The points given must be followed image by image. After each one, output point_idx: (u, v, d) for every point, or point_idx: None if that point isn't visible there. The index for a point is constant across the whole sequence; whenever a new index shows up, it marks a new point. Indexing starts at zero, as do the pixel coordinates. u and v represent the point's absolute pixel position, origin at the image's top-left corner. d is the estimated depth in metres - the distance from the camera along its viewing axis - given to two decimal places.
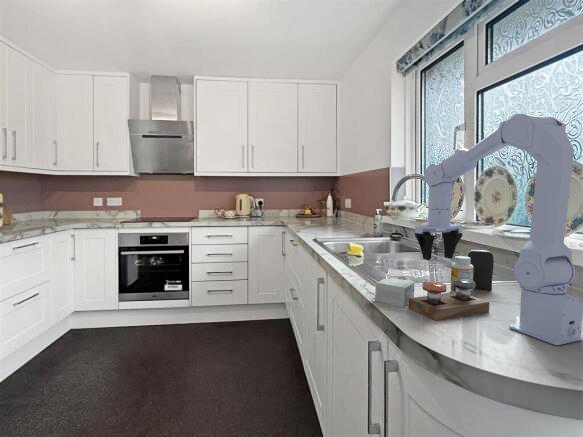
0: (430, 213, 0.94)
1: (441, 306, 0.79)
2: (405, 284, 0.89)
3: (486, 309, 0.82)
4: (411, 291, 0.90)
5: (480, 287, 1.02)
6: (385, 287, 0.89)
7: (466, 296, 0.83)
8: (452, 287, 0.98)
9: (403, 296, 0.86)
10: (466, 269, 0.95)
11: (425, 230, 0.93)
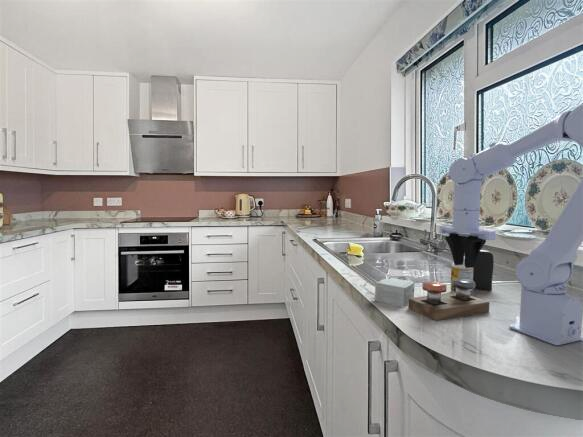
0: None
1: (441, 306, 0.79)
2: (405, 284, 0.89)
3: (486, 309, 0.82)
4: (411, 291, 0.90)
5: (480, 287, 1.02)
6: (385, 287, 0.89)
7: (466, 296, 0.83)
8: (452, 287, 0.98)
9: (403, 296, 0.86)
10: (466, 269, 0.95)
11: (448, 231, 0.88)
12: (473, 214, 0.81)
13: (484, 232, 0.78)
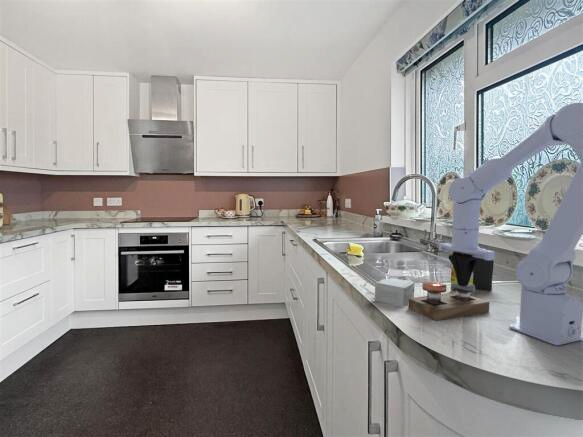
0: None
1: (441, 306, 0.79)
2: (405, 284, 0.89)
3: (486, 309, 0.82)
4: (411, 291, 0.90)
5: (480, 287, 1.02)
6: (384, 287, 0.89)
7: (466, 299, 0.84)
8: None
9: (402, 296, 0.86)
10: None
11: (447, 249, 0.89)
12: (472, 233, 0.81)
13: (483, 252, 0.78)
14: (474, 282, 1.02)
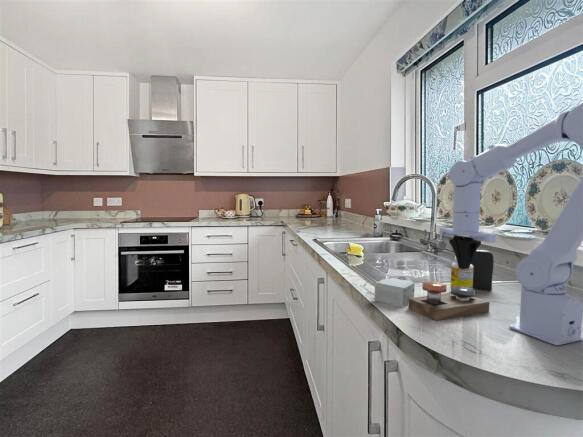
0: None
1: (441, 306, 0.79)
2: (404, 284, 0.89)
3: (486, 309, 0.82)
4: (411, 291, 0.90)
5: (480, 287, 1.02)
6: (384, 287, 0.89)
7: None
8: None
9: (402, 296, 0.86)
10: (466, 269, 0.95)
11: (448, 233, 0.88)
12: (473, 216, 0.81)
13: (484, 234, 0.78)
14: (474, 282, 1.02)
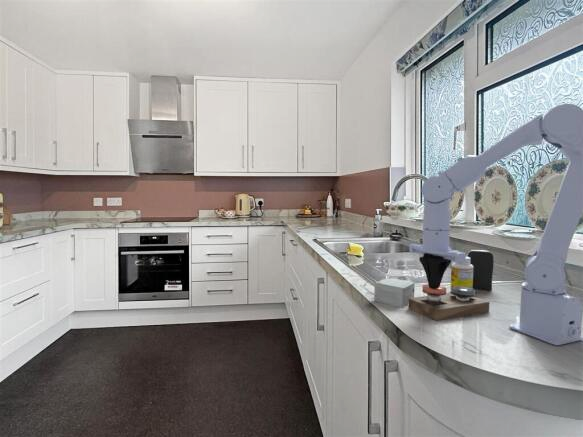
0: None
1: (441, 306, 0.79)
2: (404, 284, 0.89)
3: (486, 309, 0.82)
4: (411, 291, 0.89)
5: (480, 287, 1.02)
6: (384, 287, 0.89)
7: None
8: None
9: (401, 296, 0.86)
10: (466, 269, 0.95)
11: (418, 250, 0.85)
12: (443, 234, 0.78)
13: (454, 254, 0.75)
14: (474, 282, 1.02)
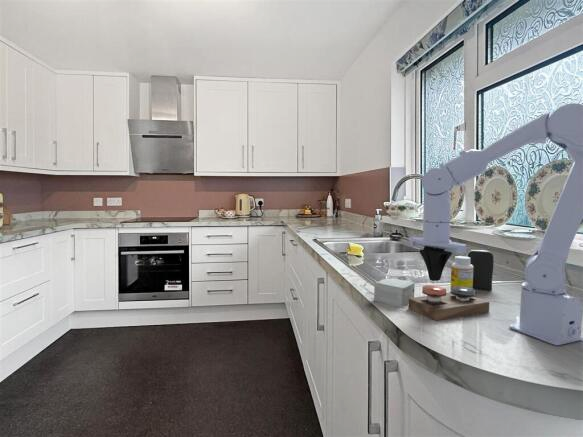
0: None
1: (441, 306, 0.79)
2: (404, 284, 0.89)
3: (486, 309, 0.82)
4: (411, 291, 0.89)
5: (480, 287, 1.02)
6: (383, 287, 0.89)
7: None
8: None
9: (401, 296, 0.86)
10: (466, 269, 0.95)
11: (419, 243, 0.85)
12: (443, 226, 0.78)
13: (455, 245, 0.75)
14: (474, 282, 1.02)
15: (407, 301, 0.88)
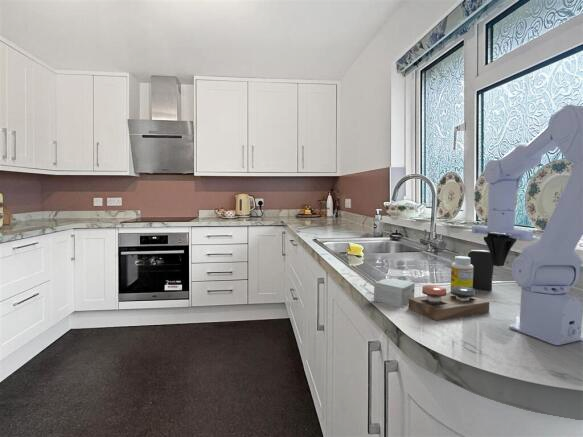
0: None
1: (441, 306, 0.79)
2: (404, 284, 0.88)
3: (486, 309, 0.82)
4: (411, 291, 0.89)
5: (480, 287, 1.02)
6: (383, 286, 0.89)
7: None
8: None
9: (400, 296, 0.86)
10: (466, 269, 0.95)
11: (481, 231, 0.89)
12: (509, 214, 0.81)
13: (522, 232, 0.78)
14: (474, 282, 1.02)
15: (407, 301, 0.88)
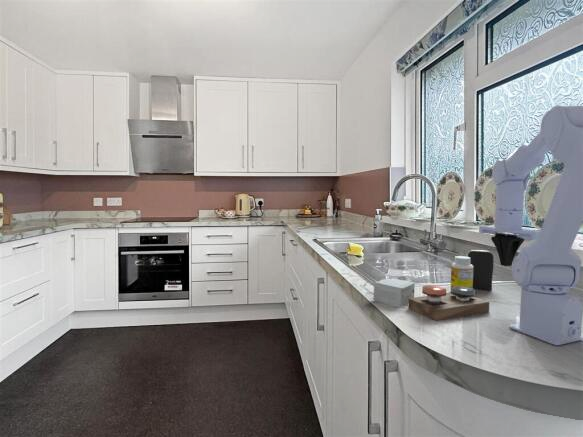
0: None
1: (441, 306, 0.79)
2: (403, 284, 0.88)
3: (486, 309, 0.82)
4: (410, 292, 0.89)
5: (480, 287, 1.02)
6: (382, 287, 0.89)
7: None
8: None
9: (399, 296, 0.86)
10: (466, 269, 0.95)
11: (489, 231, 0.89)
12: (517, 214, 0.82)
13: (530, 232, 0.79)
14: (474, 282, 1.02)
15: (406, 301, 0.88)
